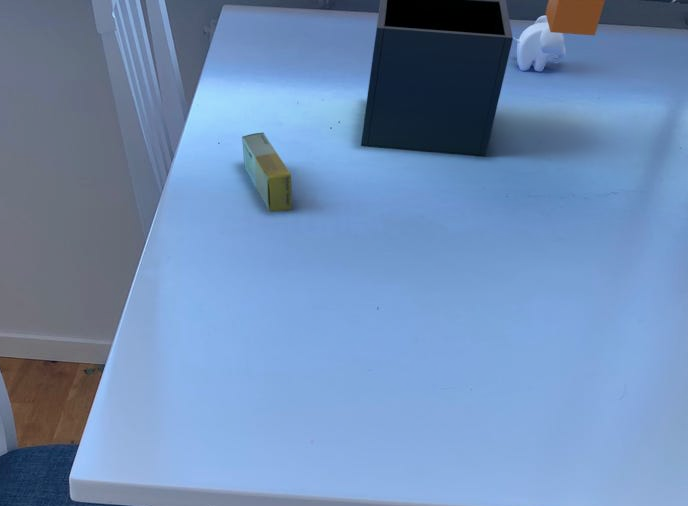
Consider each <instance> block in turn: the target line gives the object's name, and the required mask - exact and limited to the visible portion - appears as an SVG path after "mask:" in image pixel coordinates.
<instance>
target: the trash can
mask: <svg viewBox="0 0 688 506" xmlns="http://www.w3.org/2000/svg"><path fill="white" fill-rule="evenodd" d="M513 37H514V36H513V32H512V25H511V21H510V15H509V11H508V6H507V0H379V7H378V15H377V21H376V29H375V37H374V42H373V43H374V44H373V52H372V59H371V66H370V73H369V81H368V88H367V96H366V103H365V111H364V117H363V125H362V133H361V139H360V140H361V141H360V147H366V148H376V149H377V148H378V149H387V150H400V151H411V152H423V153H434V154H446V155H458V156H468V157H478V158H479V157H481V158H486V155H487V151H488V148H489V143H490V139H491V136H492V135H491V134H492V130H493V126H494V122H495V119H496V113H497V109H498V105H499V101H500V97H501V91H502V87H503V82H504V78H505V75H506V70H507V66H508V62H509V57H510V53H511V48H512V44H513V40H514V39H513Z"/></svg>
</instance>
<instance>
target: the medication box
mask: <svg viewBox="0 0 688 506" xmlns="http://www.w3.org/2000/svg"><path fill="white" fill-rule="evenodd" d="M241 139H242V140H241V141H242V152H243V166H244V168H245V170H246V172H247V174H248V176H249V178H250V180H251V181H252V183H253V185H254V187H255V189H256V190H257V192H258V194H259V195H260V198H261V199H262V201H263V203H264V204H265V207H266V208H267V210H268V211H269V212H282V211H283V212H285V211H293V197H292V196H293V193H292V191H293V190H292V173H291V171H289V169H288V168H287V166H286V164H285V163H284V162H283V160H282V159H281V157H280V155H279V154H278V153H277V151H276V150H275V148H274V146H273V145H272V144H271V141H270V140H269V139H268V137H267V136H266V134H265V133H264V132H256V133H255V132H254V133H250V134H247V135H242V137H241Z"/></svg>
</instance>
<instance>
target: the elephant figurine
mask: <svg viewBox="0 0 688 506" xmlns="http://www.w3.org/2000/svg"><path fill="white" fill-rule="evenodd" d="M513 40H514V41H516V42H517V44H516V45H517V46H516V63H517V65H518V67H519V69H520V71H523V72H526V71H529V70H530V68H531V66H532V67H533V70H534V71H535V72H538V73H540V72H543V70H544V69H545V67H546V64H547V62H548V61H549V59H550V58H551V57H552V56H557V57H552V58H551V62H552V63H553V64H555V65H556V64H559V63H560V62H561V61H563V60H564V57H565V58H567V57H568V56H567V55H566V53H567V49H566V46H565V37H564V33H555V32H550V28H549V25H548V21H547V17H546V14H545V15H541V16H539V17H538V18H537V19H536V20H535V22H534V24H531V25H530V26H528V27H527V28H525V29H524V30H523V31H522V33H521V34H520V36H519V38H515V37H514V36H513Z"/></svg>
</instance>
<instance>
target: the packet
mask: <svg viewBox="0 0 688 506" xmlns="http://www.w3.org/2000/svg"><path fill="white" fill-rule="evenodd" d="M605 3H606V0H548V1H547V5H546V9H545V15H546V17H547V21H548V25H549V28H550V32H555V33H563V34H567V35H568V34H569V35H582V36H583V35H585V36H595V35H596V32H597V29H598V26H599V23H600V19H601V15H602V12H603V9H604V6H605Z"/></svg>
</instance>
